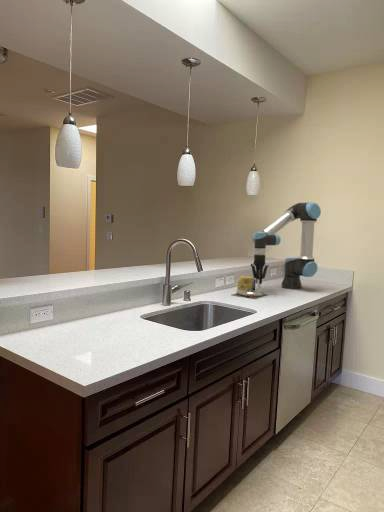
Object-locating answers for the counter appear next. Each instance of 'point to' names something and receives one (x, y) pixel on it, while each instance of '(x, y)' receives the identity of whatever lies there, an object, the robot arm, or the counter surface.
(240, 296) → the base plate
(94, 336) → the counter surface
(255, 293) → the metal dish with post
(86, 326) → the counter surface
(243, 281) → the cheese
